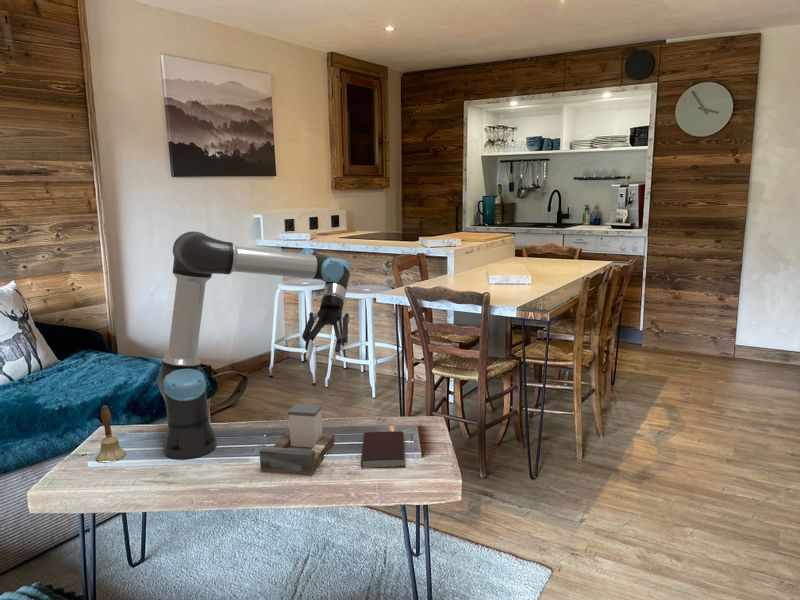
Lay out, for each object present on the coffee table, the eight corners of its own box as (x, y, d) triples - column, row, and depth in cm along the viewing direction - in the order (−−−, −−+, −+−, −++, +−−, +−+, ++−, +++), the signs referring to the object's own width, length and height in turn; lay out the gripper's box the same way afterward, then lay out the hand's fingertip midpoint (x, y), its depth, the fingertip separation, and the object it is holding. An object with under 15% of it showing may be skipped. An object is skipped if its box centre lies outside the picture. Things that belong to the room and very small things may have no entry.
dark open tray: (288, 439, 192) (287, 421, 191) (334, 442, 189) (333, 424, 188) (260, 471, 172) (259, 451, 171) (312, 475, 169) (311, 455, 168)
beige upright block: (297, 437, 191) (295, 403, 188) (323, 439, 189) (321, 405, 187) (289, 446, 184) (287, 411, 182) (316, 448, 183) (314, 413, 181)
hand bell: (127, 459, 181) (121, 407, 178) (95, 465, 177) (89, 413, 174) (125, 448, 188) (120, 398, 185) (95, 453, 185) (89, 403, 181)
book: (360, 470, 173) (360, 459, 172) (363, 440, 192) (363, 430, 191) (405, 469, 173) (405, 458, 172) (404, 439, 192) (404, 430, 191)
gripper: (364, 306, 211) (353, 366, 198) (307, 305, 214) (293, 364, 202) (360, 294, 204) (348, 355, 192) (301, 293, 208) (286, 353, 196)
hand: (320, 359), depth 197 cm, fingers open, 8 cm apart
